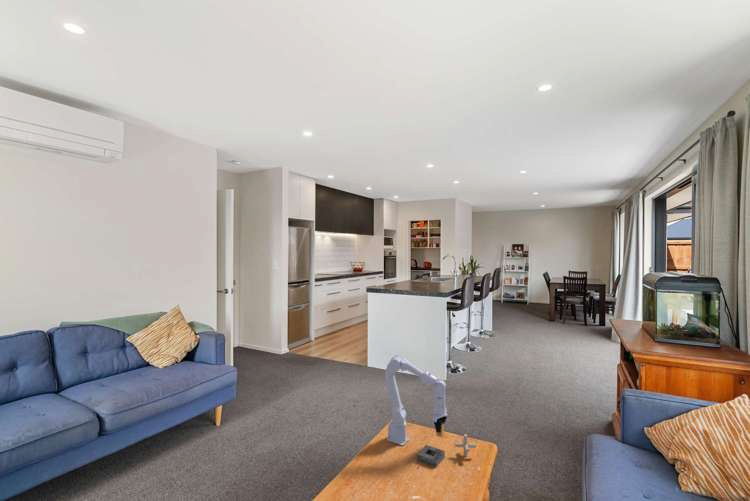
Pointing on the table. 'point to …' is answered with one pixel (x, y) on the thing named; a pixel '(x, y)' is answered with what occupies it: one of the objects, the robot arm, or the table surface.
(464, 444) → the pipe connector
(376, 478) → the table surface
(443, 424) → the tan wooden block
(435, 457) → the grey square frame
